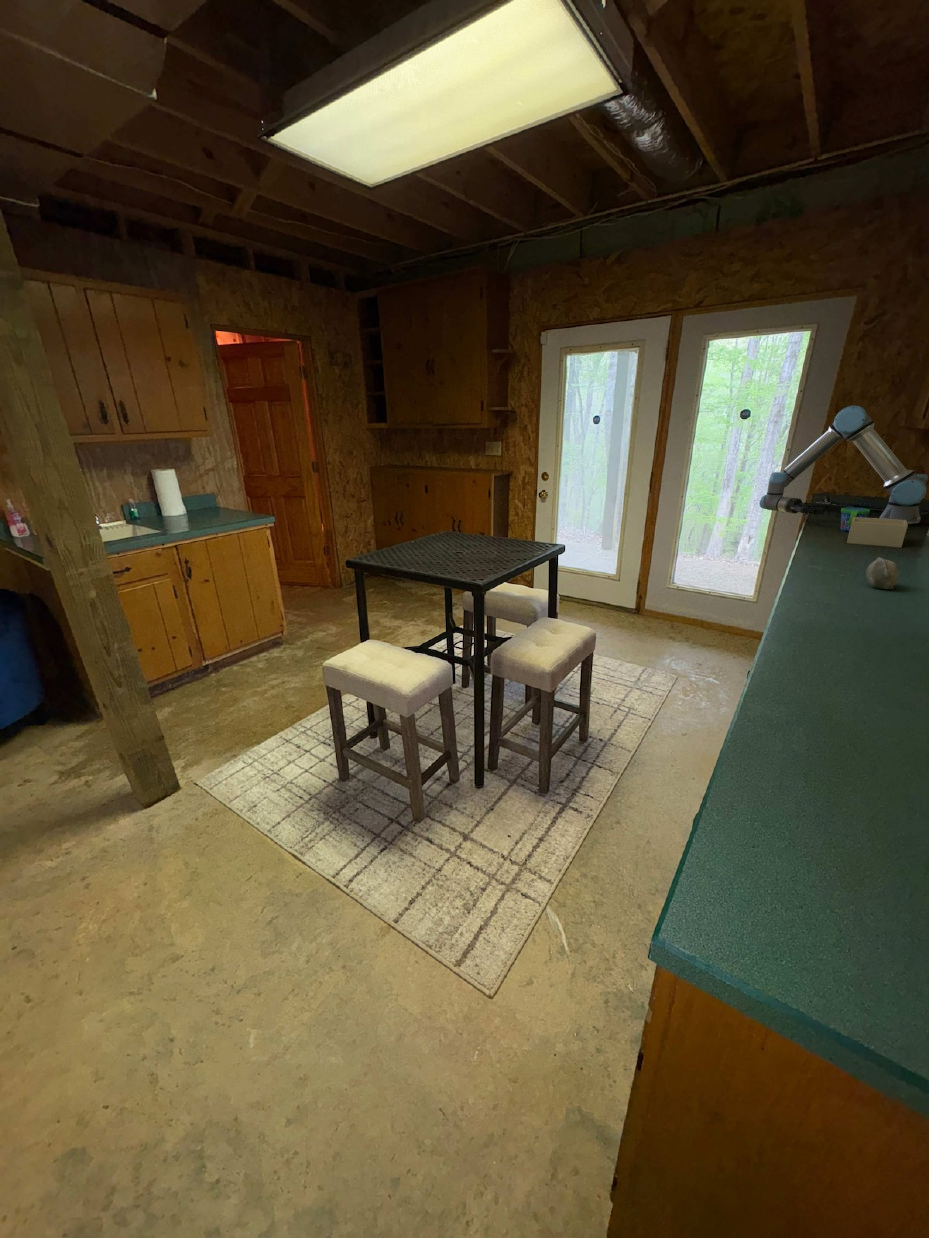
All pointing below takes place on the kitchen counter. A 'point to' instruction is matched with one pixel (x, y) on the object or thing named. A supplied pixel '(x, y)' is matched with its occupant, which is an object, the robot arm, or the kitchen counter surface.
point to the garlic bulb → (882, 574)
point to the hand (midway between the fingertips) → (833, 510)
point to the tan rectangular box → (877, 531)
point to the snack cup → (851, 516)
